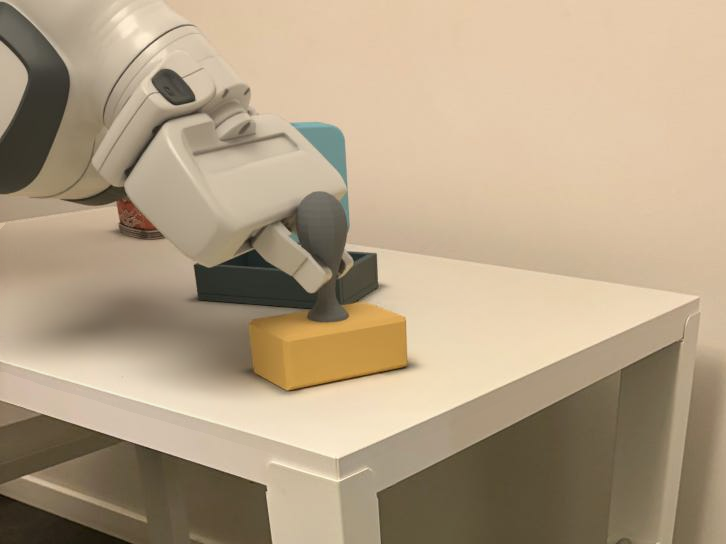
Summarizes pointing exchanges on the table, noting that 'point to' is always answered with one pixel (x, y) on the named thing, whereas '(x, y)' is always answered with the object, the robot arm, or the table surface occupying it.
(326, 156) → the teal rounded flat block
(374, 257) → the holder
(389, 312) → the rubber stamp
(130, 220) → the lighter
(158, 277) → the table surface
